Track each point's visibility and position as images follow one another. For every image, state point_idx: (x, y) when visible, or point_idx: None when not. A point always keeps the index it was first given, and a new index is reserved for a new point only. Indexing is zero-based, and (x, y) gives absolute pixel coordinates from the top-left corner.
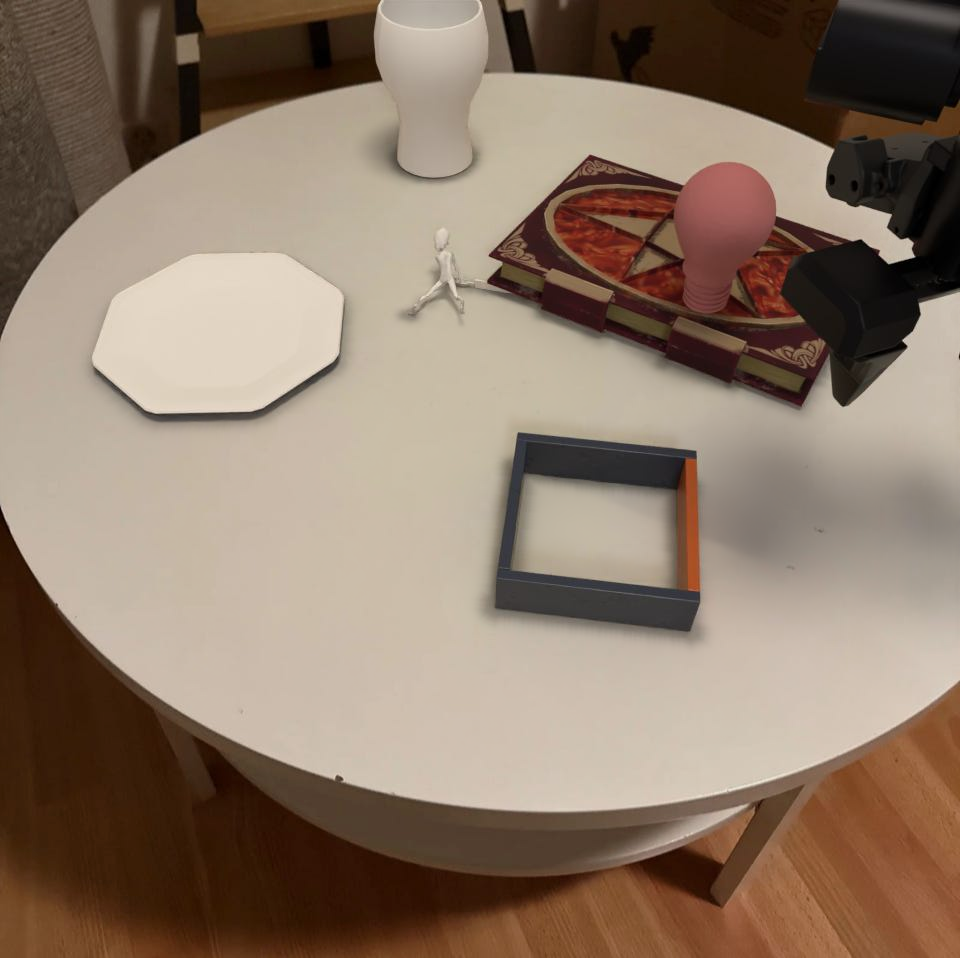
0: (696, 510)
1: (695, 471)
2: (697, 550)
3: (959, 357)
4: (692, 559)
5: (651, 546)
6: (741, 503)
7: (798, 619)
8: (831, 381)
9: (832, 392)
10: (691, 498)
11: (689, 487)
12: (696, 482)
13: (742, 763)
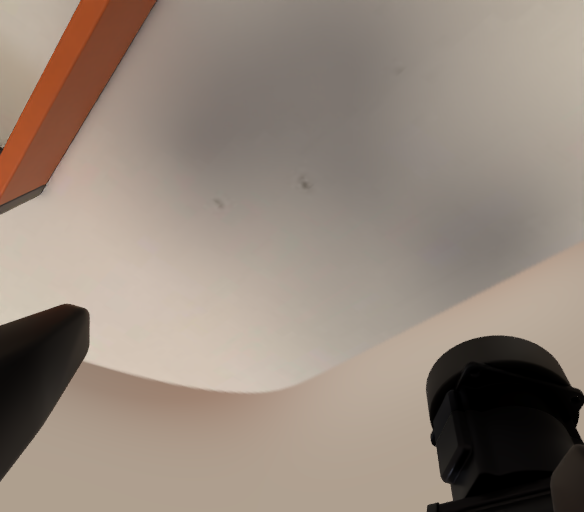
0: (58, 85)
1: (103, 2)
2: (21, 152)
3: (575, 451)
4: (5, 161)
5: (53, 49)
6: (235, 66)
7: (174, 261)
8: (7, 324)
9: (55, 308)
10: (61, 57)
11: (70, 32)
12: (89, 30)
13: None
